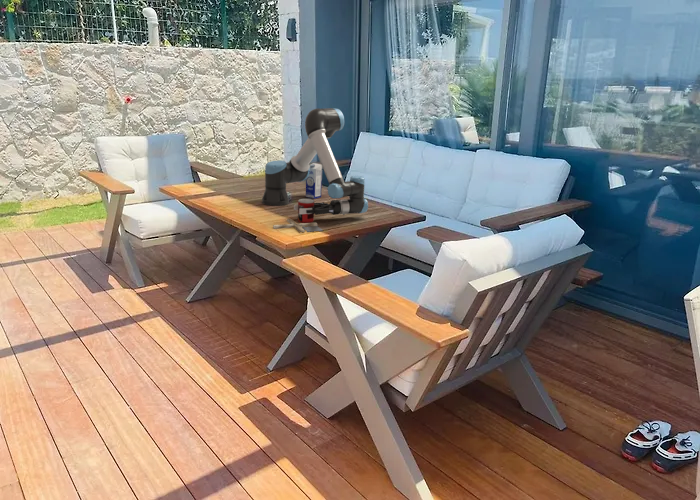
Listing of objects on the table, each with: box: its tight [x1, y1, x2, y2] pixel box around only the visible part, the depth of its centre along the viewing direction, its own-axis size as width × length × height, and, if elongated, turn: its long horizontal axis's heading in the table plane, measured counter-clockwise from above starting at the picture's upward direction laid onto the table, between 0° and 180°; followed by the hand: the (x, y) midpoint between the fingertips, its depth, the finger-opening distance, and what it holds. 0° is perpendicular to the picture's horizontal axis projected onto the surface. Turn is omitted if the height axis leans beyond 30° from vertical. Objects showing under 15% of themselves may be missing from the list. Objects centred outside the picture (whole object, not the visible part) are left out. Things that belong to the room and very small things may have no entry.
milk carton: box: [305, 162, 323, 200], centre depth 325 cm, size 7×7×20 cm
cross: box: [272, 218, 324, 233], centre depth 265 cm, size 22×22×1 cm
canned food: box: [297, 198, 315, 223], centre depth 273 cm, size 8×8×11 cm
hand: (296, 209), depth 271 cm, fingers closed on canned food, 8 cm apart
